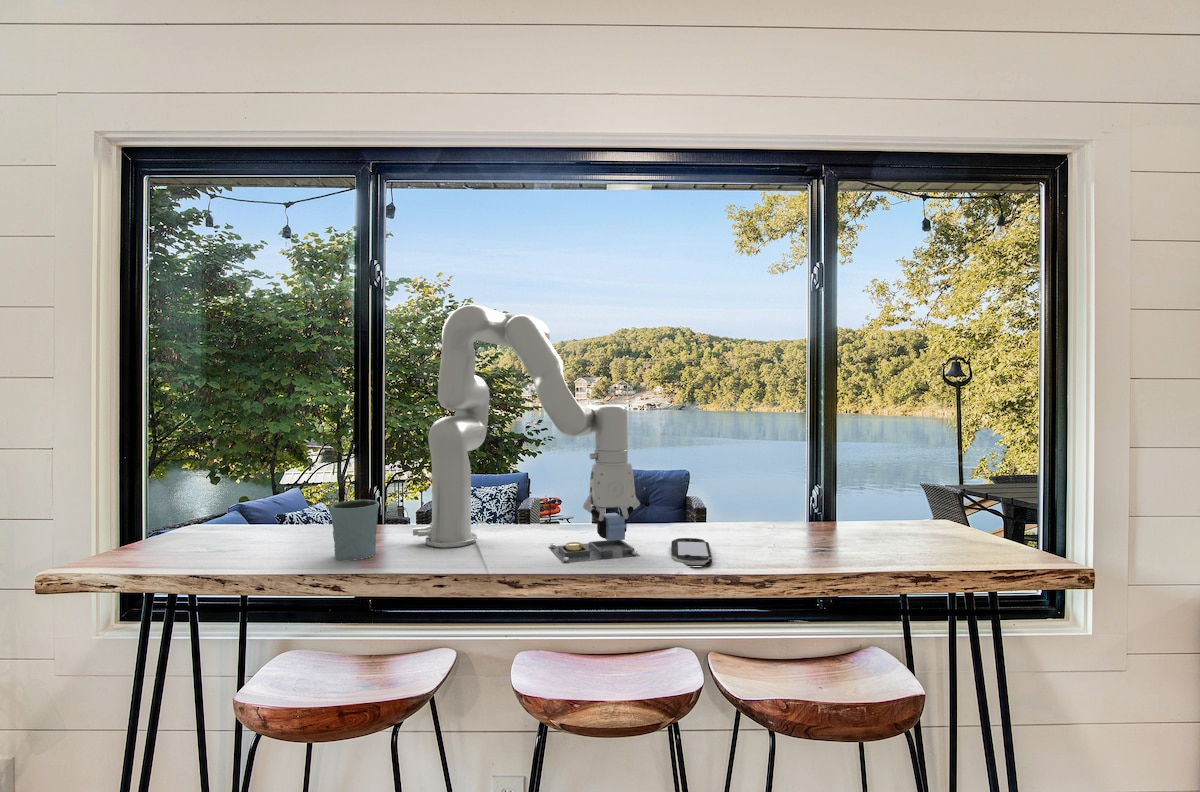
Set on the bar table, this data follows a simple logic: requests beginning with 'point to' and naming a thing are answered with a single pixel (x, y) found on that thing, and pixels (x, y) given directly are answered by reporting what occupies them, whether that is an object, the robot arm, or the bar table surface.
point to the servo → (615, 526)
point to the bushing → (573, 546)
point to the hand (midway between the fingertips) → (611, 535)
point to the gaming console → (691, 551)
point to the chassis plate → (594, 551)
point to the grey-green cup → (354, 528)
